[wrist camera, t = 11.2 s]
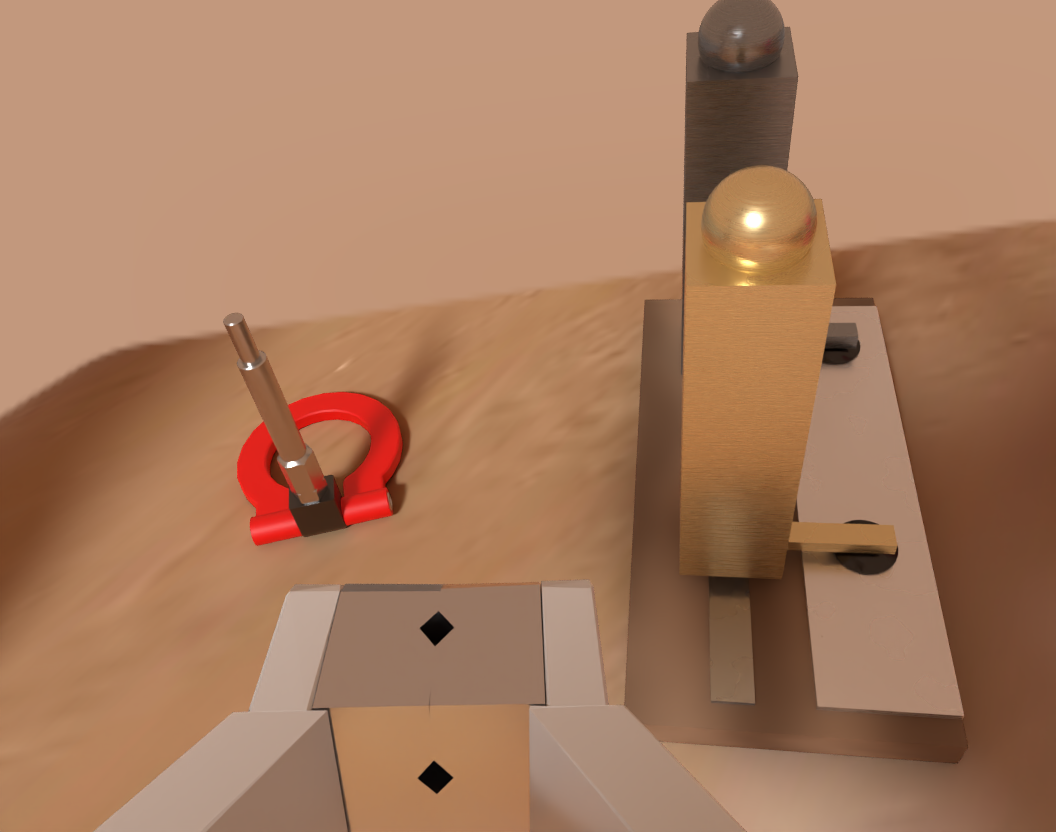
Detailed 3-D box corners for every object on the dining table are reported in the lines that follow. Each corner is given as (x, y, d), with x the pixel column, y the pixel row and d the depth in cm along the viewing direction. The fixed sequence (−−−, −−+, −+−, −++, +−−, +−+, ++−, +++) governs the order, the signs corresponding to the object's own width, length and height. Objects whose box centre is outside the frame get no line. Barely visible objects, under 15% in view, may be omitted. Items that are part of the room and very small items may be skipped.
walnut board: (624, 738, 34) (623, 722, 33) (645, 320, 49) (644, 299, 48) (957, 763, 32) (968, 747, 31) (868, 319, 48) (872, 297, 46)
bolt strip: (710, 702, 33) (711, 698, 32) (704, 311, 47) (704, 305, 47) (962, 719, 31) (965, 714, 31) (875, 310, 46) (877, 304, 45)
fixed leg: (680, 374, 44) (687, 22, 31) (681, 321, 47) (688, -25, 34) (858, 375, 43) (944, 7, 30) (848, 320, 45) (922, -41, 32)
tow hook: (247, 425, 48) (239, 558, 42) (148, 224, 39) (119, 354, 33) (397, 392, 49) (413, 519, 42) (334, 186, 40) (342, 307, 33)
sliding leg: (679, 577, 36) (687, 220, 23) (679, 498, 38) (687, 138, 25) (900, 586, 34) (1042, 212, 21) (885, 503, 37) (1003, 126, 24)
